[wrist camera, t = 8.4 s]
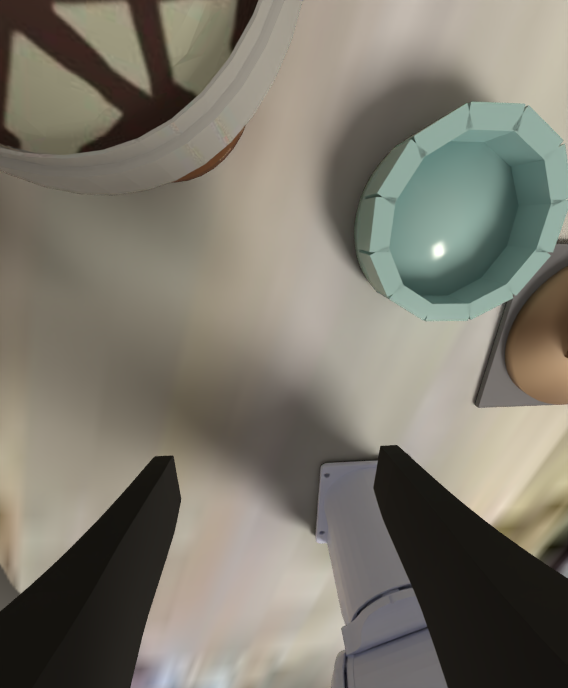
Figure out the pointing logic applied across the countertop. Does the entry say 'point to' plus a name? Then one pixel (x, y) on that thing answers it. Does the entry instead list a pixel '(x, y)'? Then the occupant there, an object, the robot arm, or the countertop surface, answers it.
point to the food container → (132, 87)
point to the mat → (496, 378)
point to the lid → (541, 343)
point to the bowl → (463, 211)
